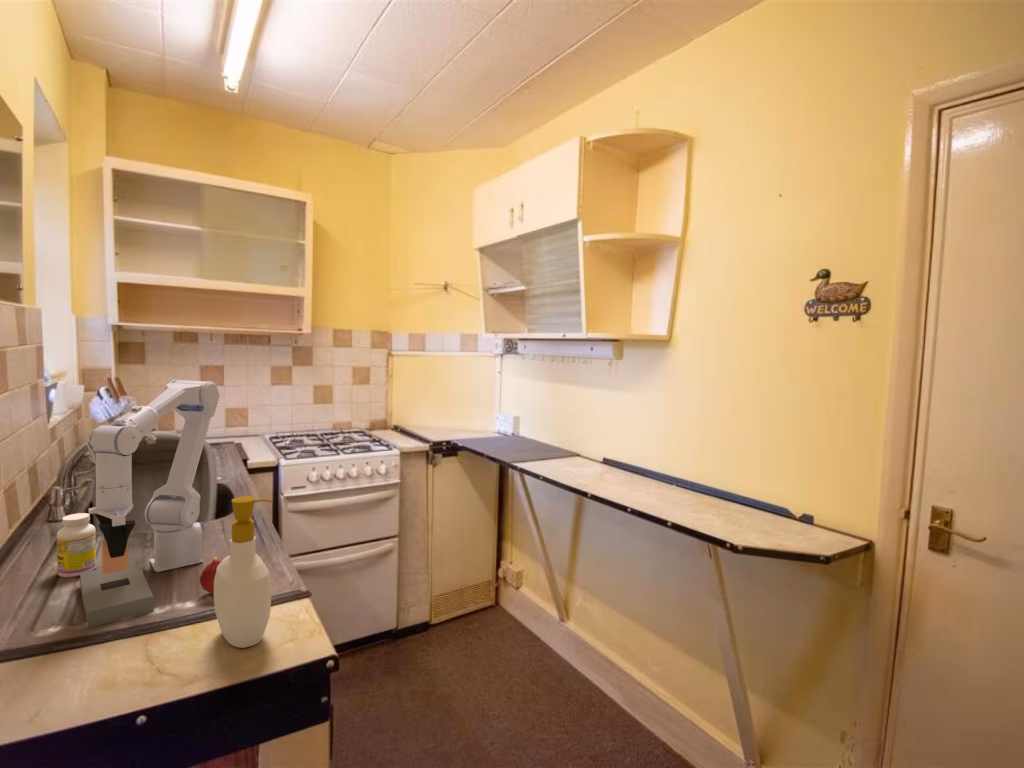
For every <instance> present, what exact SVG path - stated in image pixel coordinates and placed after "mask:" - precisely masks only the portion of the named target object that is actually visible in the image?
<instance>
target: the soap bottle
mask: <svg viewBox="0 0 1024 768" xmlns="http://www.w3.org/2000/svg"><path fill="white" fill-rule="evenodd" d="M261 502H267V503H269V502H270V503H272V502H273V500H272V499H266V498H258V499H256V498H255V497H253V496H251V495H250V496H249V495H248V496H247V495H246V496H245V495H244V496H239V497H234V498H232V499H231V505H232V510H233V511H232V512H233V517H234V521H233V522H232V523H231V538H230V539H229V555H227V556H225V557H224V558H223V559H222V560H221V561H222V562H221V563H220V564H219V565H218V566H217V570H216V574H215V579H214V594H213V602H214V605H213V606H214V612H215V613H214V614H215V616H216V619H217V623H218V626H219V628H220V631H221V634H222V636H223V638H224V639H225V640H226V641H227V642H228V644H230V645H231V646H233V647H236V648H243V649H244V648H248V647H253V646H255V645H257V644H258V643H260V642H261V641H262V639H263V636H264V635H265V631H266V629H267V625H268V623H269V619H270V616H271V615H270V614H271V606H272V580H271V576H270V570H269V569H268V567H267V566H266V564H265V562H264V561H263V559H262V558H261V557H260V556H259V555H258V553H256V543H257V542H256V541H257V540H256V539H257V538H256V536H255V520H254V519H252V517H253V512H254V507H255V503H261Z"/></svg>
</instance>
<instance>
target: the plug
mask: <svg viewBox="0 0 1024 768" xmlns="http://www.w3.org/2000/svg"><path fill="white" fill-rule="evenodd" d="M128 563H129V540H128V541H127V546H126V550H125V553H124V556H120V557H115V558H111V557H110V554H109V551H108V546H107V542H106V540H105V539H103V540H101V569H102V571H103V574H108V573H113V572H117V571H122V570H127V569H128Z"/></svg>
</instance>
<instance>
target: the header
mask: <svg viewBox="0 0 1024 768" xmlns="http://www.w3.org/2000/svg"><path fill="white" fill-rule="evenodd" d="M79 588H80V595H81V601H82V604H83V609H84V615H85V621H86V625H87V629H89V628H93V627H97V626H100V625H104V624H109V623H112V622H116V621H120V620H123V618H124V619H127V618H130V617H134V616H138V615H142V614H145V613H149V612H152V611H153V612H154V594H153V592H152V590H151V587H150V585H149V583H148V581H147V579H146V576H145V573H144V572H143V570H142V567H141V565H140V562H139V561H138V560H137V561H134V562H133V561H131V562H128V569H127V570H122V571H117V572H113V573H108V574H103V571H102V568H98V569H94V570H93V571H88V572H83V573H80V576H79ZM108 622H109V623H108Z"/></svg>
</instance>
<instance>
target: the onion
mask: <svg viewBox="0 0 1024 768" xmlns="http://www.w3.org/2000/svg"><path fill="white" fill-rule="evenodd" d="M222 561H223V560H220V559H219V557H217V556H214V557H213V559H212V561H211V563H208V564H207V565H206V566H205V568H204V569H202V572H201V573H200V576H199V582H200V586H201V588H203V589H202V590H204V591H206V592H208V593H210V594H212V595H214V579H215V574H216V570H217V566H218V565H219V564H220V563H221V562H222Z"/></svg>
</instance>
